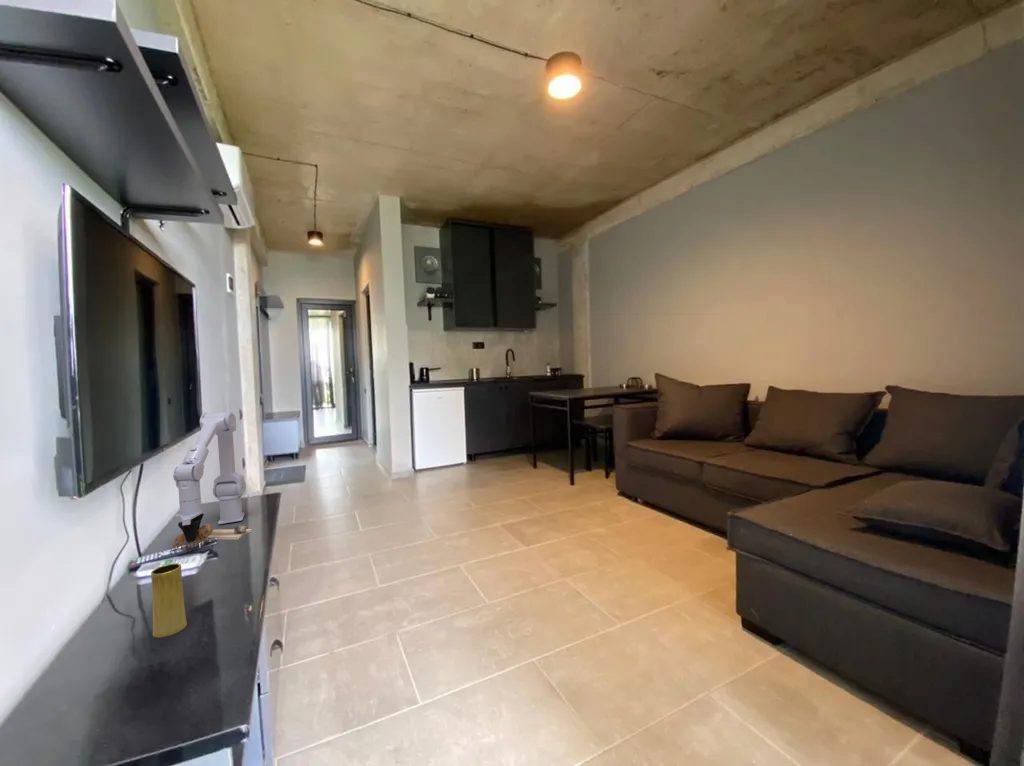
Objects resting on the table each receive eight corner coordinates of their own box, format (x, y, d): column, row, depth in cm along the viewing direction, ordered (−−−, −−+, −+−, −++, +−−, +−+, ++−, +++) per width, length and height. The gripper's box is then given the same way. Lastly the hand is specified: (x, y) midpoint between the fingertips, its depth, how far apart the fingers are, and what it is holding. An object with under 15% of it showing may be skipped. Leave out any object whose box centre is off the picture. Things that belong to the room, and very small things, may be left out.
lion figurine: (214, 542, 145) (212, 521, 144) (212, 546, 141) (211, 525, 141) (170, 551, 139) (168, 529, 138) (167, 555, 135) (166, 533, 135)
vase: (145, 640, 92) (141, 576, 91) (163, 623, 98) (159, 564, 97) (177, 636, 93) (173, 573, 92) (192, 619, 99) (189, 560, 98)
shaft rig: (196, 532, 155) (196, 522, 154) (252, 531, 154) (251, 522, 153) (181, 540, 148) (180, 530, 147) (238, 539, 147) (238, 529, 146)
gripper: (180, 495, 144) (182, 534, 145) (169, 507, 131) (171, 550, 132) (205, 492, 147) (207, 530, 148) (196, 503, 134) (199, 545, 135)
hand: (192, 539), depth 140 cm, fingers closed on lion figurine, 4 cm apart
